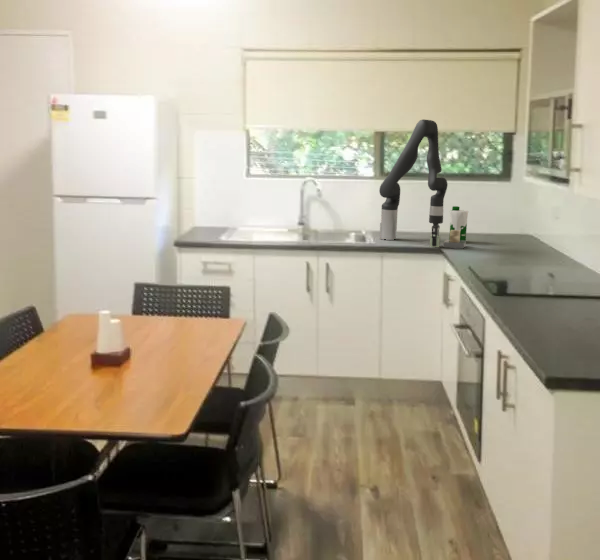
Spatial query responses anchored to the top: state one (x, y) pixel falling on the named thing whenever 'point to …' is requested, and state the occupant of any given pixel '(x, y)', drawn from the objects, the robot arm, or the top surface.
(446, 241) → the slate base
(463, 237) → the soya milk
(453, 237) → the maple block
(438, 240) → the sage block
